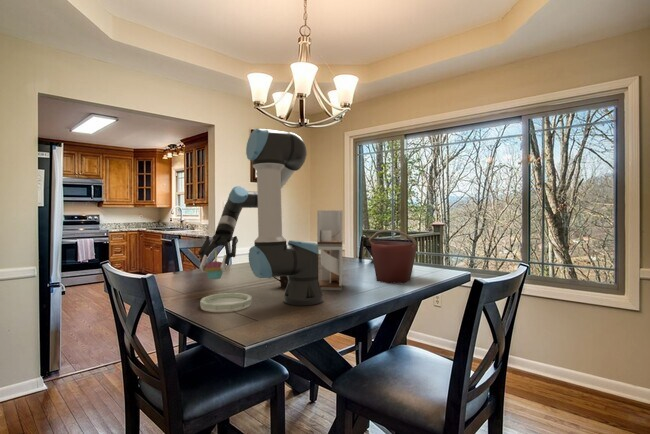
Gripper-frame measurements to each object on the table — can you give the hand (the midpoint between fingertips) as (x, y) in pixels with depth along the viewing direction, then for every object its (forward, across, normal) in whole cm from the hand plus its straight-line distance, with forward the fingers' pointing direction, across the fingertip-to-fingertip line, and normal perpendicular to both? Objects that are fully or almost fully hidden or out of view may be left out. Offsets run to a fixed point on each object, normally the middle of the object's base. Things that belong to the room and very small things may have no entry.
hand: (211, 269), depth 143 cm
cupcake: (+1, 0, -6) cm, 6 cm away
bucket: (-21, -77, -38) cm, 88 cm away
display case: (-7, -46, -24) cm, 53 cm away
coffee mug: (-7, -26, -23) cm, 35 cm away
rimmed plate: (+16, -10, +1) cm, 20 cm away
